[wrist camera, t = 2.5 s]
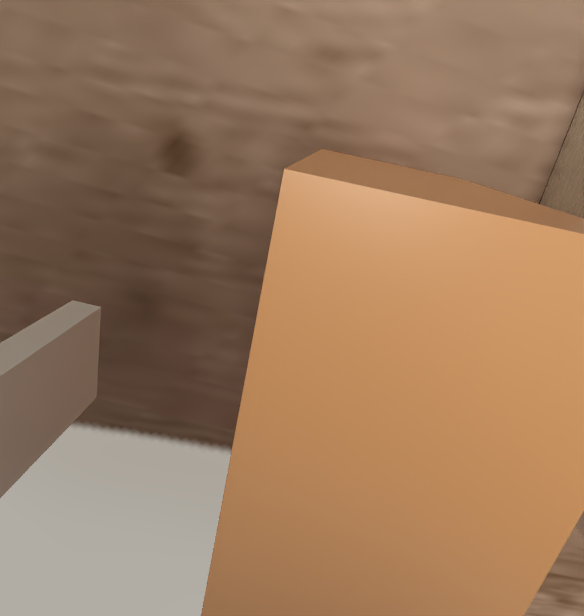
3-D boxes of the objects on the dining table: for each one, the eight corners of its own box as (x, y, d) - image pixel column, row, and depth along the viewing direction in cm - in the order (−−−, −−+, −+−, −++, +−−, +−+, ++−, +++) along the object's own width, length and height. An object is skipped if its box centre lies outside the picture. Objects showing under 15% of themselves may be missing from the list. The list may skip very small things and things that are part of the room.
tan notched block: (259, 457, 18) (153, 869, 8) (325, 147, 14) (284, 168, 4) (344, 477, 18) (349, 918, 8) (437, 171, 14) (724, 265, 4)
